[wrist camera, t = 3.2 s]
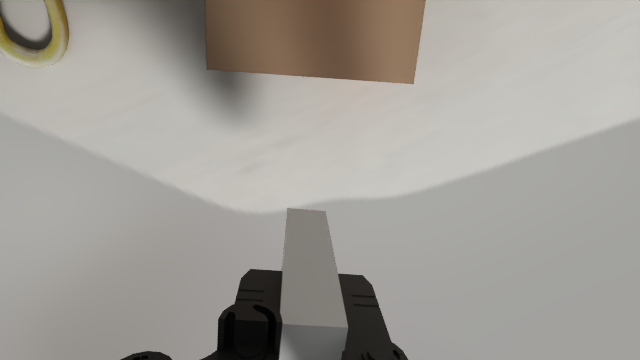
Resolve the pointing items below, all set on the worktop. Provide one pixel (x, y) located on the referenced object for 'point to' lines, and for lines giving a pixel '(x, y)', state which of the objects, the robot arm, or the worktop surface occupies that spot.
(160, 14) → the worktop surface
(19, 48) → the mug
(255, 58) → the slab
